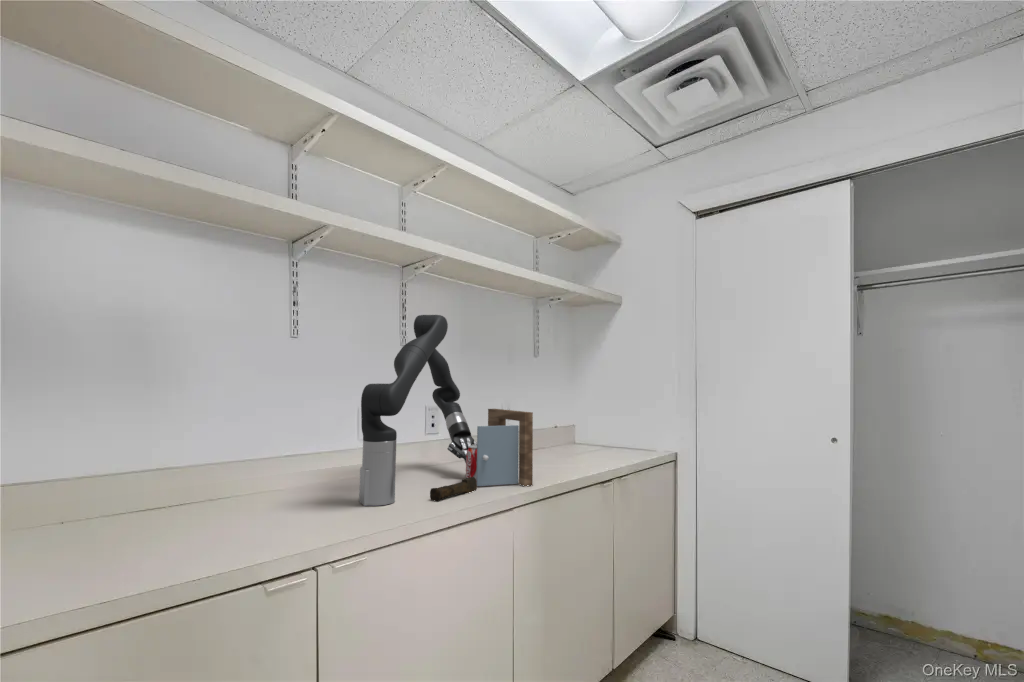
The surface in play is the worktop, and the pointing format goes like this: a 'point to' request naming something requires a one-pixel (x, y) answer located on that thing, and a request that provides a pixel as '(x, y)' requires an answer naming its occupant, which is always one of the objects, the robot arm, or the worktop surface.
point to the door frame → (525, 438)
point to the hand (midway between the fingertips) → (471, 466)
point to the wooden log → (453, 489)
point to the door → (497, 455)
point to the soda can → (471, 462)
